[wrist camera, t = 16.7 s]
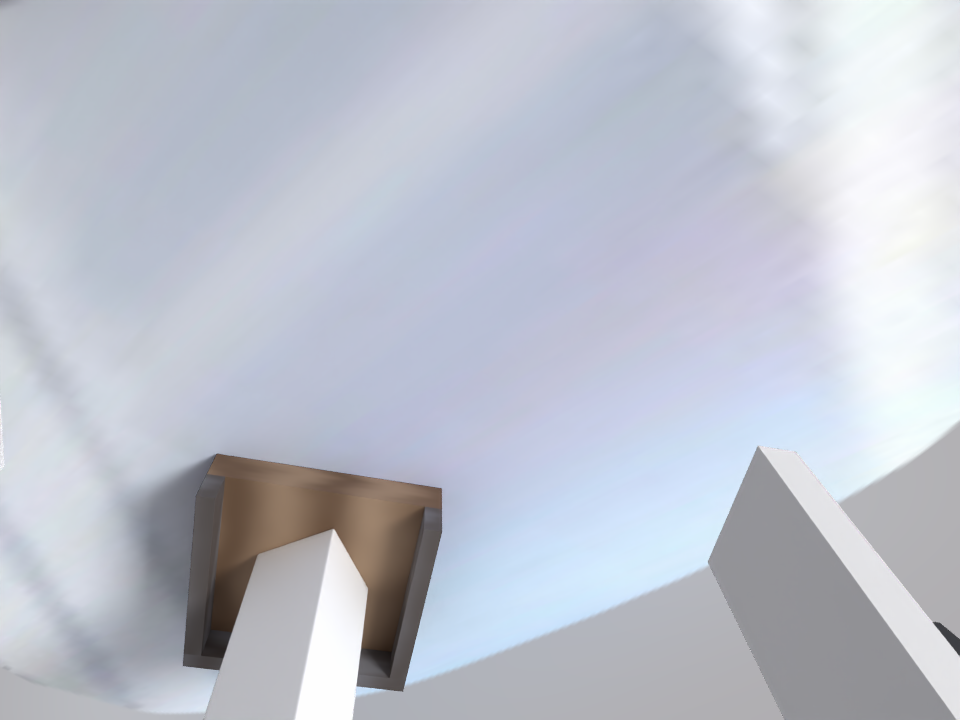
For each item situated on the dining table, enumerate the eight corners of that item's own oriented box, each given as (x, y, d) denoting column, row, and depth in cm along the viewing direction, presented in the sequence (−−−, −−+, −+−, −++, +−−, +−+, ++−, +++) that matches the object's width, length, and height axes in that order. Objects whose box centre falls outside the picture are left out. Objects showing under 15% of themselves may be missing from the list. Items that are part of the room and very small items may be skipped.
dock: (202, 615, 59) (182, 665, 54) (216, 453, 53) (196, 495, 48) (405, 640, 61) (402, 691, 56) (441, 488, 55) (441, 531, 50)
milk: (369, 587, 55) (333, 915, 35) (293, 612, 56) (217, 949, 36) (333, 525, 53) (273, 842, 33) (254, 552, 53) (149, 879, 33)
